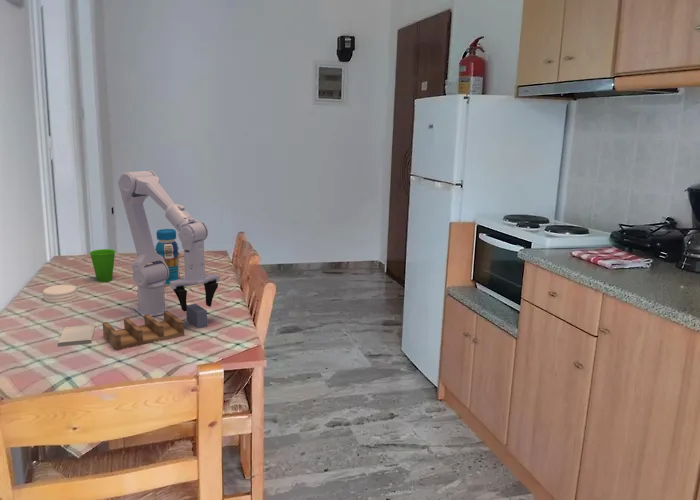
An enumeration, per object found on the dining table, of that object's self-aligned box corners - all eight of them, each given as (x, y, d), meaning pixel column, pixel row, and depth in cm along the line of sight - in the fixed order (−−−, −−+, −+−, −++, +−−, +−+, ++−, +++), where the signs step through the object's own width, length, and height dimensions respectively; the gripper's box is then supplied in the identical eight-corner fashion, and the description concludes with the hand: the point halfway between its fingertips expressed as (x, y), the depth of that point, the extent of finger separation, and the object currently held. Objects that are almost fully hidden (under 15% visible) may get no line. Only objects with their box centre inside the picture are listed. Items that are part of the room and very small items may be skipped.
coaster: (63, 304, 182) (62, 294, 181) (36, 301, 184) (35, 291, 183) (83, 295, 191) (82, 285, 190) (57, 293, 193) (57, 283, 192)
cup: (117, 282, 207) (115, 253, 204) (90, 284, 203) (88, 255, 201) (117, 276, 215) (115, 248, 212) (92, 278, 211) (89, 249, 209)
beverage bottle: (152, 285, 204) (149, 231, 200) (164, 279, 212) (162, 227, 208) (172, 287, 202) (170, 233, 198) (185, 281, 210) (182, 229, 206)
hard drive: (91, 339, 150) (95, 324, 161) (57, 342, 147) (63, 326, 158) (91, 345, 150) (95, 329, 162) (57, 348, 147) (64, 332, 159)
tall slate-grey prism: (186, 321, 169) (186, 305, 168) (196, 319, 171) (195, 303, 169) (197, 328, 163) (197, 312, 161) (207, 326, 164) (206, 310, 163)
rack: (103, 336, 155) (102, 322, 154) (168, 323, 166) (167, 310, 165) (116, 350, 146) (115, 335, 145) (184, 335, 157) (183, 321, 156)
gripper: (175, 270, 155) (178, 316, 158) (223, 262, 164) (225, 307, 167) (166, 265, 160) (168, 309, 163) (213, 258, 169) (214, 301, 172)
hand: (196, 308), depth 165 cm, fingers open, 7 cm apart
